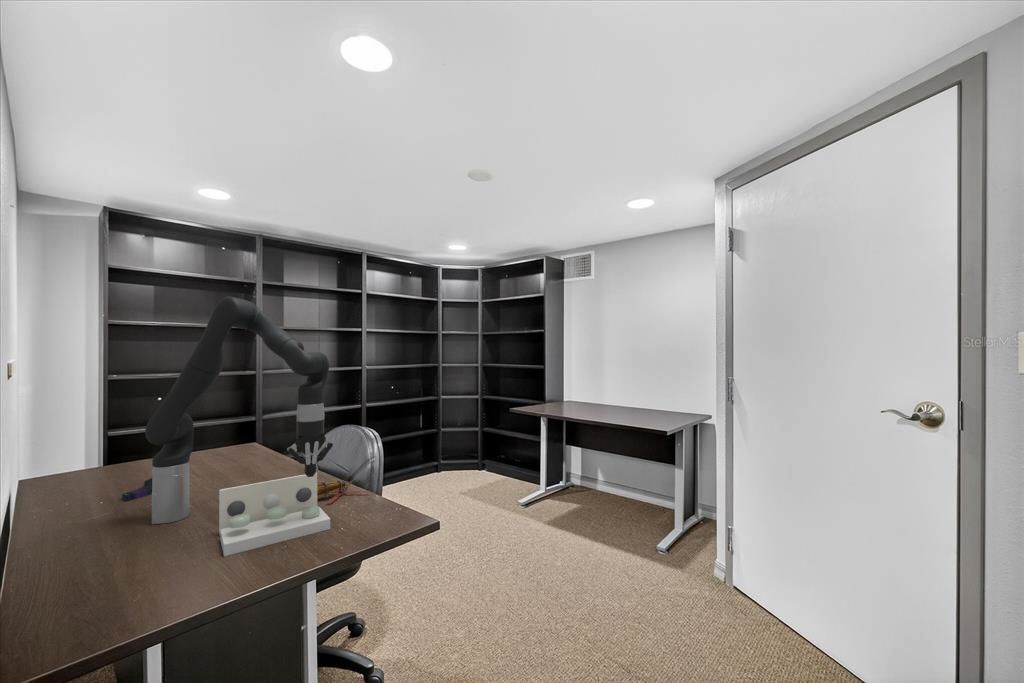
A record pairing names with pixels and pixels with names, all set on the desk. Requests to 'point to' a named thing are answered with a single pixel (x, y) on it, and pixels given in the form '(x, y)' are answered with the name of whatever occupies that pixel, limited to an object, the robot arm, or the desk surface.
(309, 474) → the robot arm
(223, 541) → the button panel
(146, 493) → the handgun
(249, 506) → the pattern card
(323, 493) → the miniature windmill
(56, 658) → the desk surface
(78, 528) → the desk surface
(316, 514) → the button right
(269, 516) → the button middle
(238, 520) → the button left
